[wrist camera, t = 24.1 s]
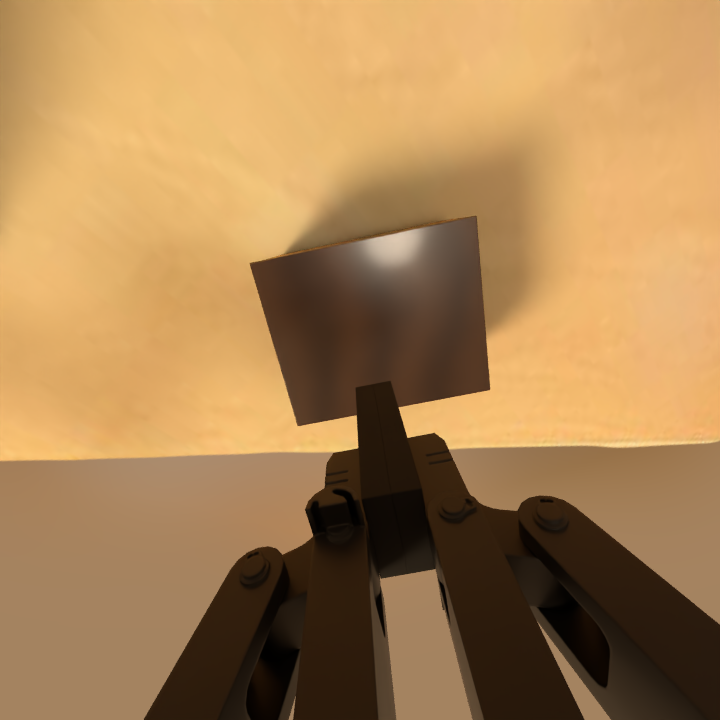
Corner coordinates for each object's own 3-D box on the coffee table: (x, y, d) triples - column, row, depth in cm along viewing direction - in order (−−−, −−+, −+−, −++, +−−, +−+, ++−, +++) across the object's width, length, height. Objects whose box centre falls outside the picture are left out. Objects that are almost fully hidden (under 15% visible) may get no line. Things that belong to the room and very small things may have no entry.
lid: (298, 421, 31) (297, 426, 30) (252, 262, 26) (249, 263, 26) (486, 386, 30) (490, 390, 29) (472, 216, 26) (476, 215, 25)
